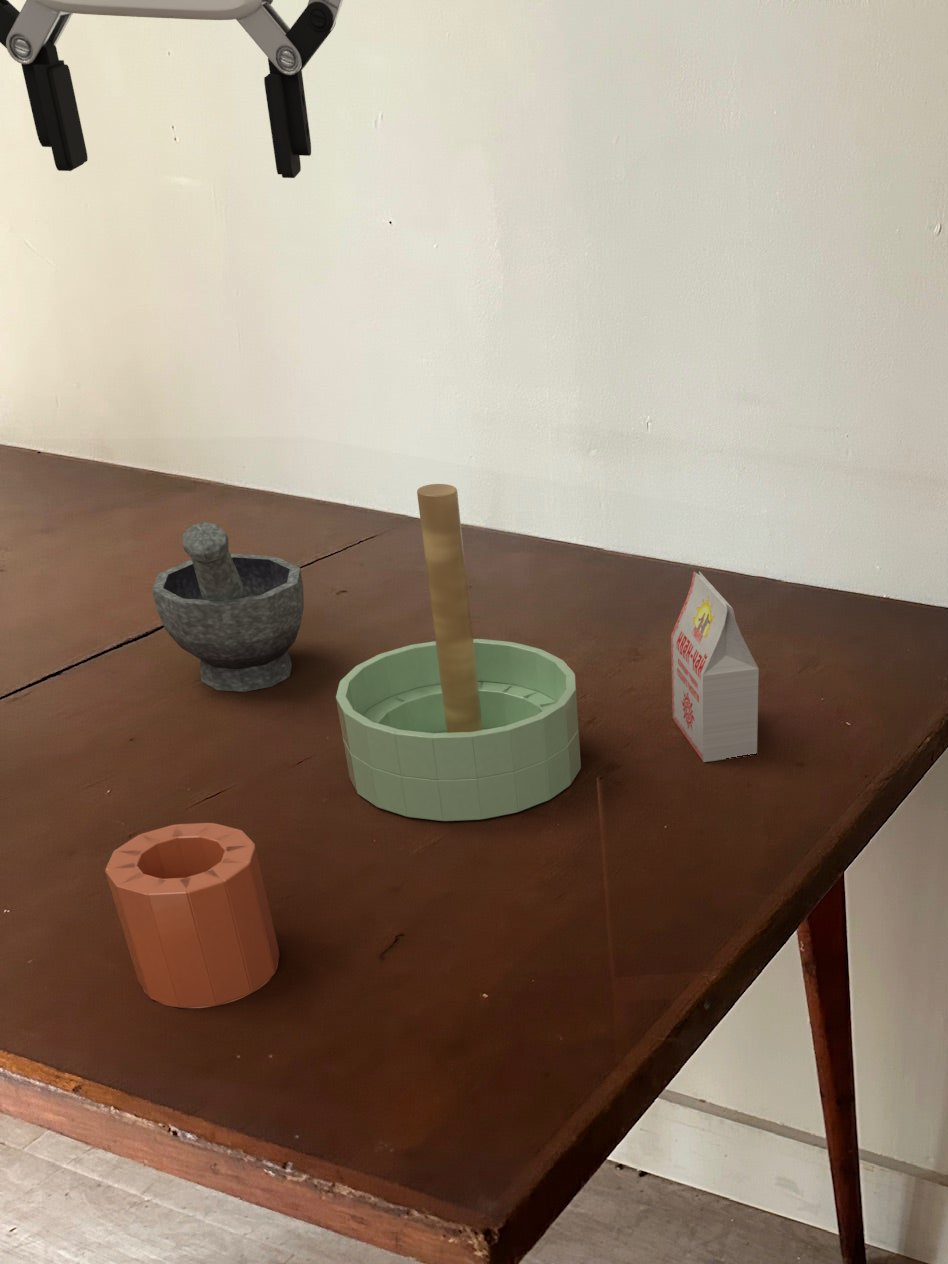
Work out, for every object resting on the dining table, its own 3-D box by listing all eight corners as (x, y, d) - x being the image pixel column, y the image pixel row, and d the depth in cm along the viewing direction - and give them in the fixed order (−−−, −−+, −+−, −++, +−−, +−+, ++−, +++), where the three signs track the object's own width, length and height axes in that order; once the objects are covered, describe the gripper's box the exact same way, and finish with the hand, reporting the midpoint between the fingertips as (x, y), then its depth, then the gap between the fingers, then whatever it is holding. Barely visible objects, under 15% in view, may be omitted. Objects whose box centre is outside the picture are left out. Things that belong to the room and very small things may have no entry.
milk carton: (723, 711, 98) (724, 568, 92) (756, 754, 93) (759, 605, 87) (672, 718, 97) (669, 573, 91) (703, 762, 92) (702, 612, 86)
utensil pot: (130, 1019, 69) (91, 897, 65) (158, 943, 75) (124, 825, 70) (270, 1011, 70) (241, 890, 66) (288, 936, 75) (262, 819, 71)
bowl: (340, 835, 84) (323, 741, 80) (363, 728, 95) (349, 642, 91) (584, 824, 86) (578, 732, 82) (578, 720, 97) (573, 635, 93)
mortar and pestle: (187, 649, 105) (147, 481, 97) (319, 643, 106) (290, 477, 99) (165, 715, 96) (120, 536, 89) (310, 707, 97) (277, 530, 90)
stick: (450, 774, 89) (415, 495, 79) (451, 758, 91) (418, 483, 80) (486, 772, 89) (456, 495, 79) (487, 756, 91) (457, 483, 81)
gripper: (331, -305, 60) (380, 166, 70) (-110, -339, 58) (7, 154, 68) (311, -330, 54) (367, 188, 65) (-181, -369, 52) (-41, 176, 62)
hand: (182, 170), depth 66 cm, fingers open, 9 cm apart
